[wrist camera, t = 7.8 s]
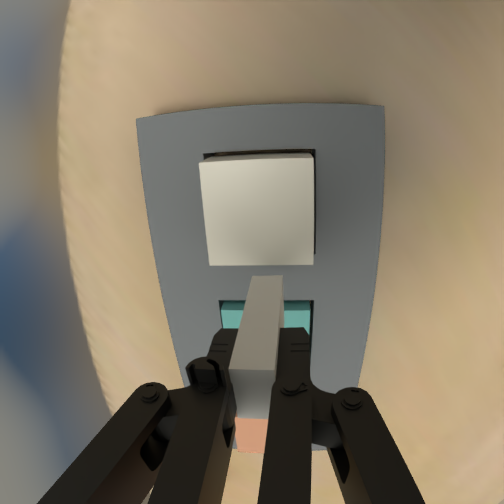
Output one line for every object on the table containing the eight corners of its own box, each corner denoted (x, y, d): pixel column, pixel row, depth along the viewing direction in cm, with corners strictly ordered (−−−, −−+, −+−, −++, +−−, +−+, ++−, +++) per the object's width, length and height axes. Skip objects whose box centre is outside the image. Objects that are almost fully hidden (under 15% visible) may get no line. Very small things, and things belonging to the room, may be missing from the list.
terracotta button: (236, 391, 27) (231, 416, 24) (303, 393, 26) (304, 418, 24) (241, 428, 29) (238, 451, 27) (300, 430, 29) (300, 453, 26)
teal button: (228, 288, 24) (221, 310, 22) (308, 288, 24) (310, 310, 21) (234, 349, 27) (229, 373, 24) (305, 349, 26) (306, 374, 23)
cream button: (211, 156, 19) (198, 162, 17) (309, 152, 19) (313, 157, 16) (219, 246, 22) (209, 265, 19) (310, 245, 21) (313, 264, 18)
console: (154, 117, 21) (135, 118, 18) (371, 107, 19) (384, 105, 16) (207, 425, 33) (202, 445, 30) (339, 428, 31) (341, 449, 29)
